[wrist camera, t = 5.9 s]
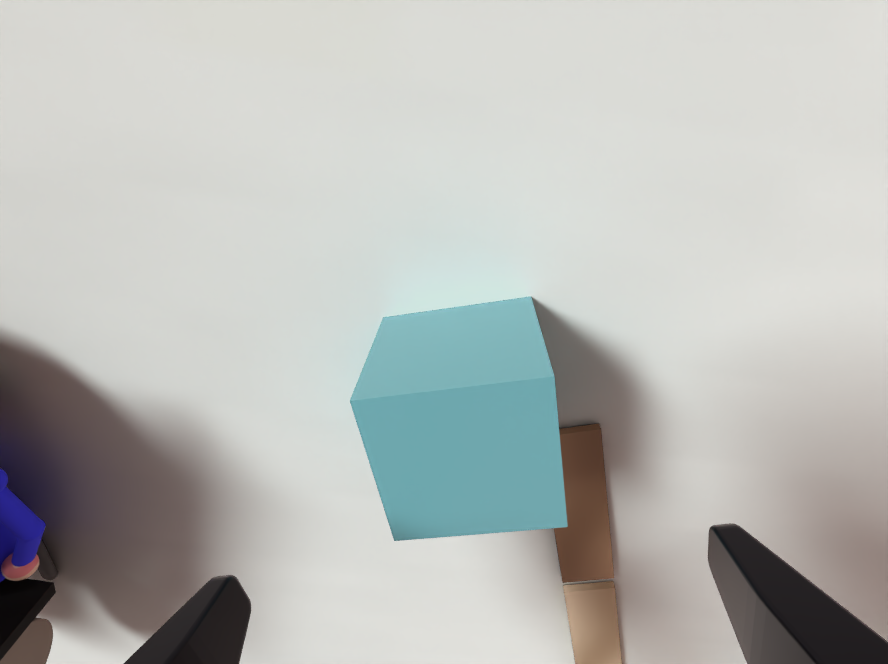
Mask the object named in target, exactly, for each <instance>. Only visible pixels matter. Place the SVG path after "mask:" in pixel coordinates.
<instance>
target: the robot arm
mask: <svg viewBox="0 0 888 664" xmlns="http://www.w3.org/2000/svg"><path fill="white" fill-rule="evenodd" d="M708 561H709V566H710V569H711V572H712V575H713V578H714V580H715V583H716V585H717V588H718V590H719V593H720V595H721V598H722V601H723V603H724V606H725V608H726V611H727V613H728V616H729V619H730V621H731V624H732V626H733V629H734V631H735V634H736V636H737V639H738V642H739V644H740V647H741V649H742V652H743V654H744V657H745V659H746V662H747V664H888V642H887V641H886V640H885V639H883V638H882V637H881V636H880V635H878V634H877V633H876V632H875V631H873V630H872V629H871V628H869V627H868V626H867V625H866V624H864V623H863V622H862V621H860V620H859V619H858V618H857V617H855V616H854V615H853V614H851V613H850V612H849V611H848V610H846V609H845V608H844V607H842V606H841V605H840V604H839V603H837V602H836V601H835V600H833V599H832V598H831V597H830V596H828V595H827V594H826V593H825V592H823V591H822V590H821V589H819V588H818V587H817V586H816V585H814V584H813V583H812V582H810V581H809V580H808V579H807V578H805V577H804V576H803V575H801V574H800V573H799V572H798V571H796V570H795V569H794V568H792V567H791V566H790V565H789V564H787V563H786V562H785V561H784V560H782V559H781V558H780V557H778V556H777V555H776V554H775V553H773V552H772V551H771V550H769V549H768V548H767V547H766V546H764V545H763V544H762V543H760V542H759V541H758V540H757V539H755V538H754V537H753V536H751V535H750V534H749V533H748V532H746V531H745V530H744V529H742V528H741V527H740V526H738V525H736V524H721V525H713V526H711V527H710V529H709V543H708ZM250 614H251V602H250V599H249V597H248V596H247V594H246V592H245V591H244V589H243V587H242V586H241V584H240V582H239V581H238V579H237V578H236V577H235V576H233V575H226V576H217V577H214V578H212V579H211V580H209V581H208V582H207V583H206V584H205V585H204V586H203V587H202V588H201V589H200V590H199V591H198V592H197V593H196V594H195V595H194V596H193V597H192V598H191V599H190V600H189V601H188V602H187V603H186V604H185V605H184V606H182V607H181V608H180V609H179V610H178V611H177V612H176V613H175V614H174V615H173V616H172V617H171V618H170V619H169V620H168V621H167V622H166V623H165V624H164V625H163V626H162V627H161V628H160V629H159V630H158V631H157V632H156V633H155V634H154V635H153V636H152V637H151V638H150V639H148V640H147V641H146V642H145V643H144V644H143V645H142V646H141V647H140V648H139V649H138V650H137V651H136V652H135V653H134V654H133V655H132V656H131V657H130V658H129V659H128V660H127V661H126V662H125V663H124V664H239V661H240V657H241V653H242V649H243V644H244V640H245V636H246V631H247V627H248V623H249V619H250Z"/></svg>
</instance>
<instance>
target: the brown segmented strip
mask: <svg viewBox="0 0 888 664" xmlns="http://www.w3.org/2000/svg"><path fill="white" fill-rule="evenodd" d="M559 434H560V445H561V457H562V468H563V480H564V491H565V503H566V514H567V525H568V527H562V528H554V532H555V538H556V544H557V551H558V557H559V563H560V570H561V576H562V581H563V583H565V582H576V581H587V580H598V579H609V578H614V571H613V560H612V548H611V537H610V526H609V514H608V503H607V492H606V480H605V469H604V457H603V446H602V435H601V428H600V425H599V424H592V425H585V426H577V427H570V428H562V429H559ZM563 588H564V595H565V601H566V607H567V613H568V620H569V626H570V632H571V638H572V645H573V651H574V657H575V664H622V662H621V651H620V639H619V628H618V617H617V605H616V594H615V586H614V583H613V581H608V582H597V583H586V584H575V585H563Z"/></svg>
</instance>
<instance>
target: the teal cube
mask: <svg viewBox="0 0 888 664" xmlns="http://www.w3.org/2000/svg"><path fill="white" fill-rule="evenodd" d="M350 403H351V406H352V409H353V412H354V415H355V419H356V422H357V425H358V428H359V431H360V434H361V437H362V441H363V444H364V447H365V450H366V453H367V456H368V459H369V463H370V466H371V469H372V472H373V475H374V478H375V481H376V485H377V488H378V491H379V494H380V497H381V500H382V503H383V507H384V510H385V513H386V516H387V519H388V522H389V525H390V529H391V532H392V535H393V538H394V541H399V540H411V539H424V538H437V537H449V536H462V535H474V534H487V533H499V532H512V531H524V530H537V529H550V528H562V527H568V525H567V514H566V503H565V491H564V480H563V468H562V457H561V445H560V434H559V423H558V411H557V400H556V388H555V377H554V373H553V370H552V366H551V363H550V359H549V356H548V353H547V349H546V346H545V342H544V339H543V335H542V332H541V329H540V325H539V322H538V318H537V315H536V311H535V308H534V305H533V301H532V298H531V297H524V298H517V299H510V300H503V301H496V302H489V303H482V304H475V305H468V306H461V307H454V308H447V309H439V310H432V311H425V312H418V313H411V314H404V315H397V316H390V317H383V320H382V322H381V325H380V327H379V330H378V332H377V334H376V337H375V339H374V342H373V344H372V347H371V349H370V352H369V354H368V357H367V359H366V362H365V364H364V367H363V369H362V372H361V374H360V377H359V379H358V382H357V384H356V387H355V389H354V392H353V394H352V397H351V399H350Z"/></svg>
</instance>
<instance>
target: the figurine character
mask: <svg viewBox="0 0 888 664" xmlns="http://www.w3.org/2000/svg"><path fill="white" fill-rule="evenodd" d="M7 483H8V476H7V474H6V472H5V471H4V470H2V469H1V468H0V664H46V661H47V659H48V656H49V653H50V649H51V645H52V639H53V629H52V625H51V623H50V622H49V621H48V620H46V619H42V618H35V617H36V616H37V615H38V614H39V612H40V611H41V610H42V609H43V607H44V606H45V605H46V604H47V602H48V601H49V600H50V599H51V597H52V596H53V595H54V594H55V592H56V591H55V587H54V583H53V582H46V581H39V580H32V579H26V578H28V577H30V576H31V575H32V574H33V573H34V572H35V571H36V570H37V568H38V570H39V572H40V574H41V576H42V577H43V578H44V579H46V580H53V579H55V578H56V577H57V575H58V572H57V570H56V568H55V566H54V563H53V561H52V559H51V557H50V555H49V553H48V551H47V549H46V547H45V545H44V543H43V541H42V539H41V538H42V535H43V532H44V529H45V526H46V524H45V522H44V521H43V520H41V519H40V518H39V517H38V516H37V515H35V514H34V513H33V512H32V511H31V510H30V509H29V508H28V507H27V506H26V505H25V504H24V503H23V502H22V501H21V500H20V499H19V498H18V497H17V496H16V495H15V494H14V493H13V492H11V491H10V490H9V489H8V488H7V487H6V485H7Z"/></svg>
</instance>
